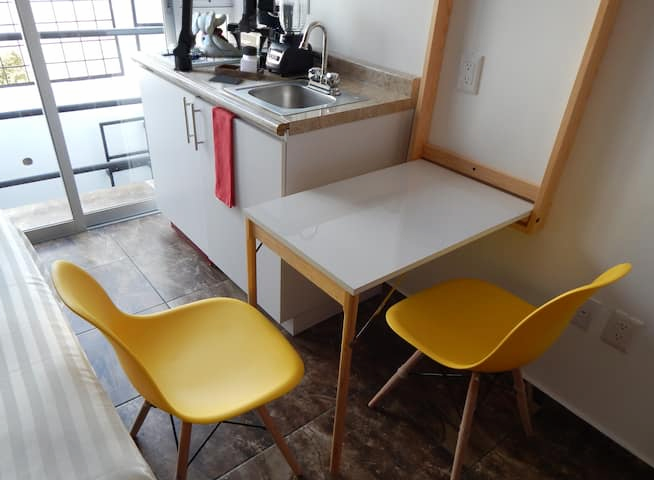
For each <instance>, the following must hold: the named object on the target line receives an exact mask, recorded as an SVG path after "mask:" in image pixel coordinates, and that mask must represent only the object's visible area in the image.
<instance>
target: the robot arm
mask: <svg viewBox="0 0 654 480" xmlns="http://www.w3.org/2000/svg"><path fill="white" fill-rule="evenodd" d="M276 8H277V3H276V0H242V13H241V19H240V20H239V21H238V22H229V23H227V25H226V32H229V34H230V35H232V36H233V38H234V40H235V42H236V47H238V49H239V50H241V46H242V33H244V34H251V33H255V34H260V36H259V44H258V45H259V47H258V52H259V54H261V53H262V50H263V49H264V45H265V43H266V41H267V39H268V38H270V37H271V36H274V29H273V27H271V26H270V27H269V26H262V27H259V26H258V25H259V24H258V17H259V14H258V10H259V11H260V12H261V13H267V14H275V13H276ZM193 10H194V0H181V22H180V23H181V24H180V25H181V26H180V31H179V35H178V38H177V43H176V44H177V45H176V46H175V48H174V49H173V50H172V54H173V57H174V58H173V59H174V68H173V71H177V72H186V73H188V72H190V71H192V70H194V67H193V59H192V58H191V57H192V54H191V53H192V51H193V50H194V48H195V45H196V46H197V41H196V40H197V35H196V34H193V31H192V16H193V14H194V13H193Z"/></svg>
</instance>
